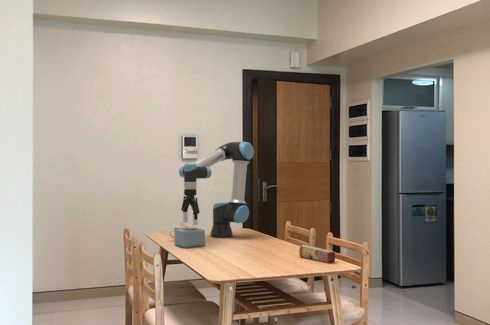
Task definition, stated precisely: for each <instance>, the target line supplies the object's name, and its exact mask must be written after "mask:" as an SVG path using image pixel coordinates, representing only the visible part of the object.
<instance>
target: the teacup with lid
mask: <svg viewBox="0 0 490 325" xmlns="http://www.w3.org/2000/svg"><path fill="white" fill-rule="evenodd" d="M184 228H189V226H187V225H185V224H184V223H183V222H179V224H177V225H176V226H174V228H173V229H172V230H170V231H169V236H170V237H171V238H173V239H175V236H172V234H171V233H172V232H175V229H184Z"/></svg>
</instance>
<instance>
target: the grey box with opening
mask: <svg viewBox="0 0 490 325" xmlns="http://www.w3.org/2000/svg"><path fill="white" fill-rule="evenodd" d="M174 230H175V231H174V237H175V238H174V246H175V247H178V248H181V249H193V248H203V247H204V248H206V247H205V246H206V230H205V229H202V228H199V227H188V228H184V229H174Z"/></svg>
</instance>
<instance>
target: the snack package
mask: <svg viewBox="0 0 490 325" xmlns="http://www.w3.org/2000/svg"><path fill="white" fill-rule="evenodd" d="M298 250H299V252H298V254H299V257H300V258H302V257H303V259H308V260H312V261H313V260H314V261H316V262H322V263H324V264H325V263H326V264H333V263H335V261H336V252H335V251H333V250H331V249H326V248H325V249H324V248H321V247H315V246H311V245H309V244H308V245H307V244H302V245H300V247H299V249H298Z"/></svg>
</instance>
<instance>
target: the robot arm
mask: <svg viewBox="0 0 490 325" xmlns="http://www.w3.org/2000/svg"><path fill="white" fill-rule="evenodd" d="M254 155H255V150H254V147H253V145H252V143H250V142H249V141H248V142H247V141H230V142H227V143H224V144H222V145H221V146H218V147H216V148H215V150H214V151H212V152H211V153H208V154H206V155H204V156H203V157H201V158H200V159H197V160H196V161H194V162H191V163H184V165H182V166H181V167H180V168H179V169H178V174H179V176H180V177H181V178H183V186H184V187H183V188H184V190H183V195H184V196H183V200H182V204H181V209H180V210H181V211H182V221H183V222H182V223H183V224H184V223H189V222H188V219H189V218H188V216H189V215H188V214H189V211H188V210H189V207H191V209H192V212H193V213H192V226H198V222H199V220H198V215H199V214H200V212H201V211H200V208H199V203H198V197H196V195H197V183H198V182H197V180H200V179H205V180H206V179H209V178H211V176H212V172H213V171H212V169H211V167H212V166H214V165H216V164H217V163H219V162H224V161H226V160H231V161H232V163H233V176H232V185H231V186H232V188H231V198H230V200H229V201H227V202H217V203H214V204H213V206H212V227H211V231H210V233H209V234H210V235H209V236H210V237H211V238H219V239H220V238H221V239H224V238H231V237H233V236H234V235H233V231H232V227H231V223H235V224H243V223H245V222H246V221H247V220H248V219H249V215H250V210H249V207H248V206H247V202H246V201H245V194H246V183H247V182H246V180H247V171H248V170H247V168H248V164H250V162H251V161H250V160H251V159H253V157H254Z"/></svg>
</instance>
